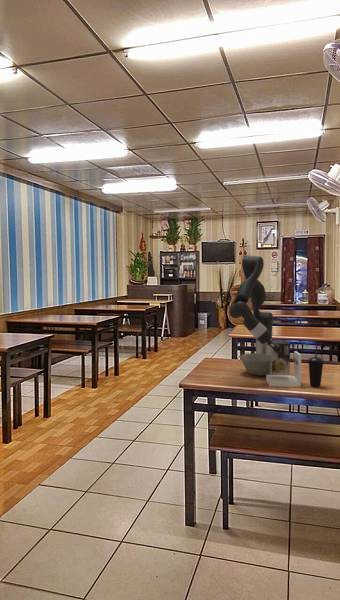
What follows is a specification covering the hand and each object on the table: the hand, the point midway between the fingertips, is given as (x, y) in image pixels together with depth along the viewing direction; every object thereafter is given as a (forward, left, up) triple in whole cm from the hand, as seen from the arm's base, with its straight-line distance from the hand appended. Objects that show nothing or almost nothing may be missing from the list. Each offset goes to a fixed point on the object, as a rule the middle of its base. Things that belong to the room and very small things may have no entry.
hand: (283, 356), depth 216 cm
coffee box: (0, -2, -9) cm, 9 cm away
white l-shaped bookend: (0, -1, -14) cm, 14 cm away
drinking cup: (+3, +15, -14) cm, 21 cm away
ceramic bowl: (-20, -10, -14) cm, 26 cm away
